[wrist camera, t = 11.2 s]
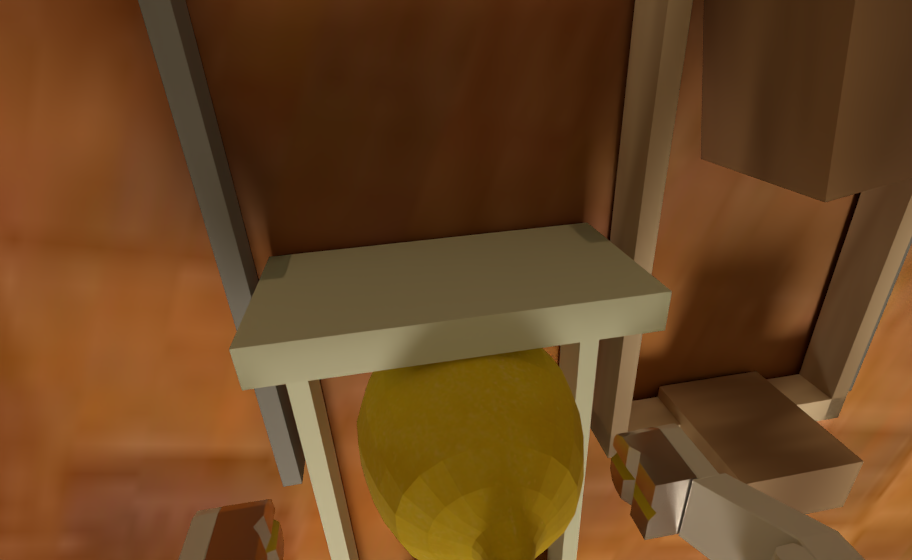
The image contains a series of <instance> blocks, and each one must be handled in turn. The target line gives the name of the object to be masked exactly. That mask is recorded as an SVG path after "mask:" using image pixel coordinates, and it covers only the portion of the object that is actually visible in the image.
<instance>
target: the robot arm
mask: <svg viewBox="0 0 912 560" xmlns="http://www.w3.org/2000/svg"><path fill="white" fill-rule="evenodd" d="M613 447H614V448H615V450H616V452H617V453H616V454H615V455H614V456H613V457H612V458H611V464H610V471H611V477H612V481H613V484H614V486H615V489H616V491H617V493H618V494H619V496H620V498H621V499H622V500H624V501H626V502H627V503H629V504H630V505H631V512H630V515H631V517H632V519H633V521H634V522H635V524H636V526H637V528H638V529H639V531H640V533H641V534H642V536H643V538H644V540H647V539H652V538H658V537H663V536H668V535H674V534H679V536H680V537H681V538H683V539H684V540H685V541H687V542H688V543H689V544H691V545H692V546H693V547H694V548H696V549H697V550H698V551H700V552H701V553H702V554H704V555H705V556H706V557H707V558H709V559H710V560H865V559H864V558H863V557H862V556H861V555H860V554H859V553H858V552H857V551H856V550H855V549H854V548H853V547H852V546H851V545H850V544H849V543H848V542H847V541H846V540H845V539H844V538H843V537H842V536H841V535H840V533H839V532H838V531H836V530H834V529H832V528H830V527H828V526H826V525H824V524H822V523H820V522H818V521H816V520H815V519H813V518H811V517H809V516H807V515H805V514H803V513H801V512H799V511H797V510H795V509H793V508H791V507H789V506H788V505H786V504H784V503H782V502H780V501H778V500H776V499H774V498H772V497H770V496H768V495H766V494H764V493H762V492H761V491H759V490H757V489H755V488H753V487H751V486H749V485H747V484H745V483H743V482H741V481H739V480H737V479H736V478H734V477H732V476H730V475H728V474H726V473H723V474H719V473H718V472H717V471H716V469H715V468H714V467H713V466H712V465H711V463H710V462H709V461H708V460H707V459H706V457H705V456H704V455H703V454H702V453H701V452H700V450H699V449H698V448H697V447H696V446H695V444H694V443H693V442H692V441H691V440H690V438H689V437H688V436H687V435H686V434H685V433H684V431H683V430H682V429H681V428H680V427H679V426H678V425H676V424H675V423H672V424H667V425H662V426H656V427H650V428H645V429H640V430H635V431H630V432H625V433H620V434H616V436H615V437H614V441H613ZM274 514H275V507H274V505H273V502H272V499H267V500H260V501H254V502H248V503H242V504H235V505H229V506H223V507H218V508H212V509H206V510H200V511H198V512H197V513H196V514H195V516H194V517H193V519H192V521H191V524H190V527H189V530H188V533H187V536H186V539H185V542H184V545H183V548H182V551H181V554H180V556H179V559H178V560H283V557H284V539H283V532H282V528H281V525H280V522H278V521H276V520H274Z"/></svg>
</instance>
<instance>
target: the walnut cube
mask: <svg viewBox="0 0 912 560" xmlns="http://www.w3.org/2000/svg"><path fill="white" fill-rule="evenodd" d="M701 159H703V160H706V161H709V162H712V163H714V164H717V165H720V166H723V167H726V168H729V169H731V170H734V171H737V172H740V173H743V174H746V175H749V176H751V177H754V178H757V179H760V180H763V181H766V182H769V183H771V184H774V185H777V186H780V187H783V188H786V189H788V190H791V191H794V192H797V193H800V194H803V195H806V196H808V197H811V198H814V199H817V200H820V201H823V202H828V201H832V200H835V199H839V198H842V197H846V196H849V195H853V194H856V193H860V192H863V191H867V190H870V189H874V188H877V187H881V186H884V185H888V184H891V183H895V182H898V181H902V180H905V179H909V178H912V0H704V23H703V73H702V124H701Z"/></svg>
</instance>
